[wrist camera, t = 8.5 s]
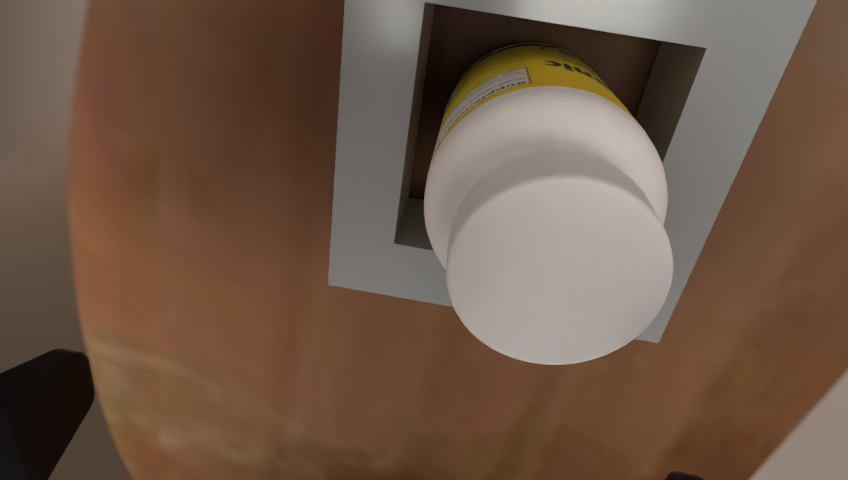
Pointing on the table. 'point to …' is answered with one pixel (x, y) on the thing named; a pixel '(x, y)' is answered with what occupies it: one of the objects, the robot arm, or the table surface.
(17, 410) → the robot arm
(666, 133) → the well
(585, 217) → the supplement bottle
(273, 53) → the table surface
